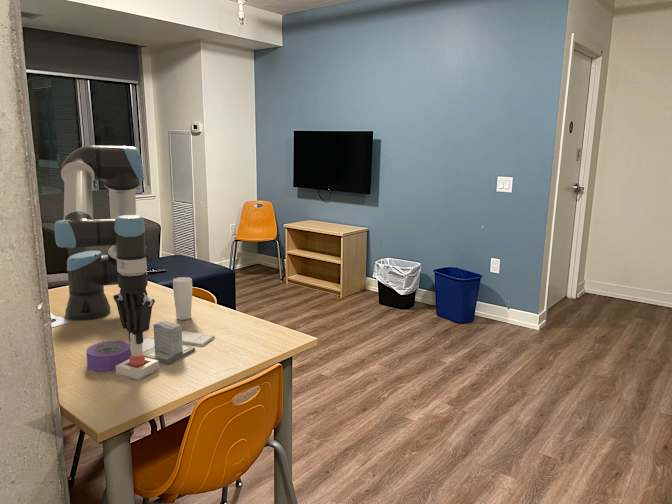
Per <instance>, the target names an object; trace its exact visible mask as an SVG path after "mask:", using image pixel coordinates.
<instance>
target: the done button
mask: <svg viewBox="0 0 672 504" xmlns="http://www.w3.org/2000/svg"><path fill="white" fill-rule="evenodd" d="M129 359H130V366H131V367H135V368H139V367H141V366H143V365H145V355H144V354H138V355H136V356H133V355H130V357H129Z"/></svg>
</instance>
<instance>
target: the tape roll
mask: <svg viewBox="0 0 672 504" xmlns="http://www.w3.org/2000/svg"><path fill="white" fill-rule="evenodd" d="M129 344H130V343H129V342H126V341H122V340H107V341H102V342H98V343H95V344H91V346H88V348H86V365H87V369H88V370H89V371H92V372H96V373H97V372H99V373H106V372H107V373H108V372H114V371H115V372H116V365H118V364H120V363H122V362H124V361H126V360H128V359H129V357H130V356H131V355H130V345H129Z"/></svg>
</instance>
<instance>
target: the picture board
mask: <svg viewBox="0 0 672 504" xmlns="http://www.w3.org/2000/svg"><path fill="white" fill-rule="evenodd" d="M128 344H129V345H130V356H131V343H128ZM182 345H183V351H182V352H180V353H178V354H175V355H173V356H172V355H169V354H166V353H163V352H160V351H157V350H155V344H154V337H150V336H143V343H142V353H141V354H144V355H145V357H146V358H150V359H154V360H158V361H159V364H164V365H167V366H170V365H171V364H173V363H175V362H177V361H178V360H181V359H182V358H184V357H186V356H187V355H190V354H192V353H193V352H195V351H196V347H193V346H191V345H190V346H189V345H187V344H182Z"/></svg>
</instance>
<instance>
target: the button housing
mask: <svg viewBox="0 0 672 504" xmlns="http://www.w3.org/2000/svg"><path fill="white" fill-rule="evenodd" d="M159 370H160V363H159V361H158V360H154V359H150V358H146V357H145V365H143V366H141V367H139V368H135V367H131V366H130V359H128V360H126V361H124V362H122V363H120V364H118V365H116V370H115V375H116V376H117V377H121V378H123V379H128V380H131V381H133V382H134V381H135V382H140V381H142V380H144V379H145V378H147V377H149V376H151V375H153V374H155V373H157V372H159Z"/></svg>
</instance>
